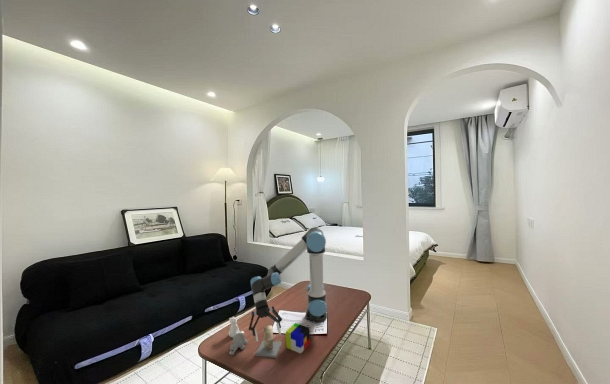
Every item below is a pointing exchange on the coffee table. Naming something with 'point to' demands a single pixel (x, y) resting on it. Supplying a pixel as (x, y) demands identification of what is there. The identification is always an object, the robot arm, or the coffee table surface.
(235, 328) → the sitting furry creature
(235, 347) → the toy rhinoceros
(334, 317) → the coffee table surface
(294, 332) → the puzzle toy
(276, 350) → the board
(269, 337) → the birch tool handle
